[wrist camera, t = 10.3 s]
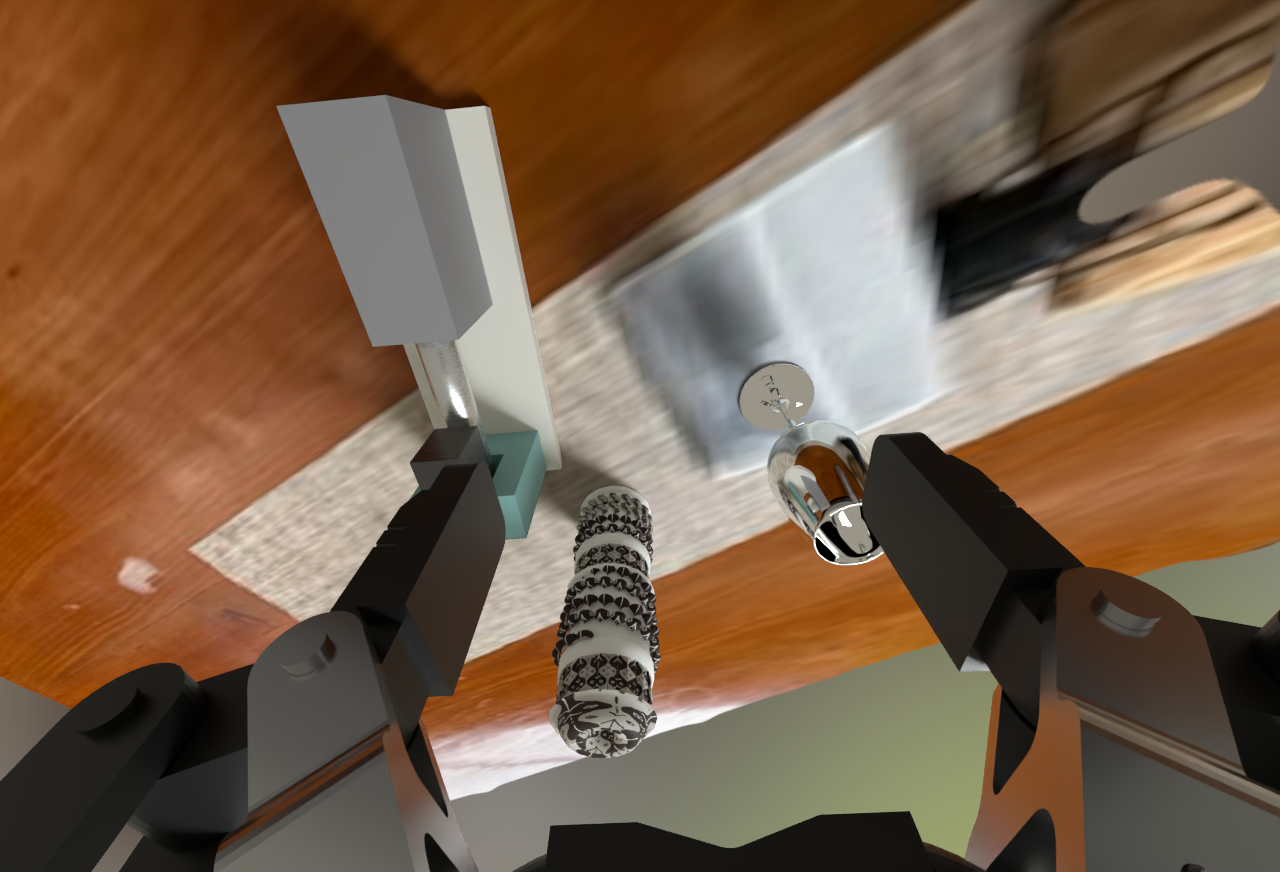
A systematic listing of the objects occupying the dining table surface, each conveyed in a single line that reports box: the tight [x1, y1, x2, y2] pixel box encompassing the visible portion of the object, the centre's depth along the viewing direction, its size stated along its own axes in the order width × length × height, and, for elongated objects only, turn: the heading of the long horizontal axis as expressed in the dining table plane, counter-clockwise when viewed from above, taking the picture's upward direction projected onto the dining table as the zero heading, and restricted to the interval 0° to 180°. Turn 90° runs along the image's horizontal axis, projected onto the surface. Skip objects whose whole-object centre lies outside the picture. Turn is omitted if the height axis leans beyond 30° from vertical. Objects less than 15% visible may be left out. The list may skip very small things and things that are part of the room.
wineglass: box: [739, 363, 884, 565], centre depth 38 cm, size 8×8×20 cm
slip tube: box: [410, 340, 496, 490], centre depth 36 cm, size 21×4×8 cm, turn 5°
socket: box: [410, 431, 546, 539], centre depth 44 cm, size 5×9×10 cm, turn 95°
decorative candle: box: [549, 485, 661, 758], centre depth 44 cm, size 9×9×25 cm
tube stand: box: [276, 95, 563, 470], centre depth 38 cm, size 32×12×11 cm, turn 5°
